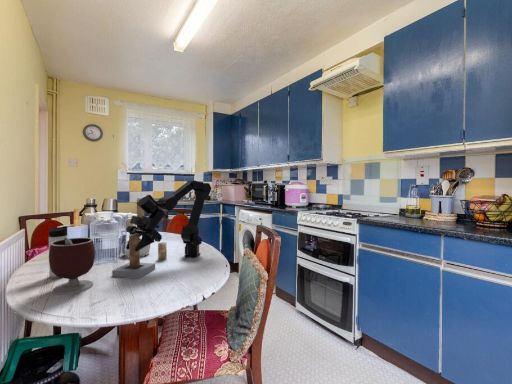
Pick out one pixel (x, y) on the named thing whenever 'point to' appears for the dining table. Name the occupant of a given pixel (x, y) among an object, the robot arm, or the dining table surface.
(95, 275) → the dining table surface
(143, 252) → the ramekin
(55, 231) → the travel mug
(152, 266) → the socket board
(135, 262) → the walnut pin
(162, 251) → the short beech pin
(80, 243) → the mate gourd
